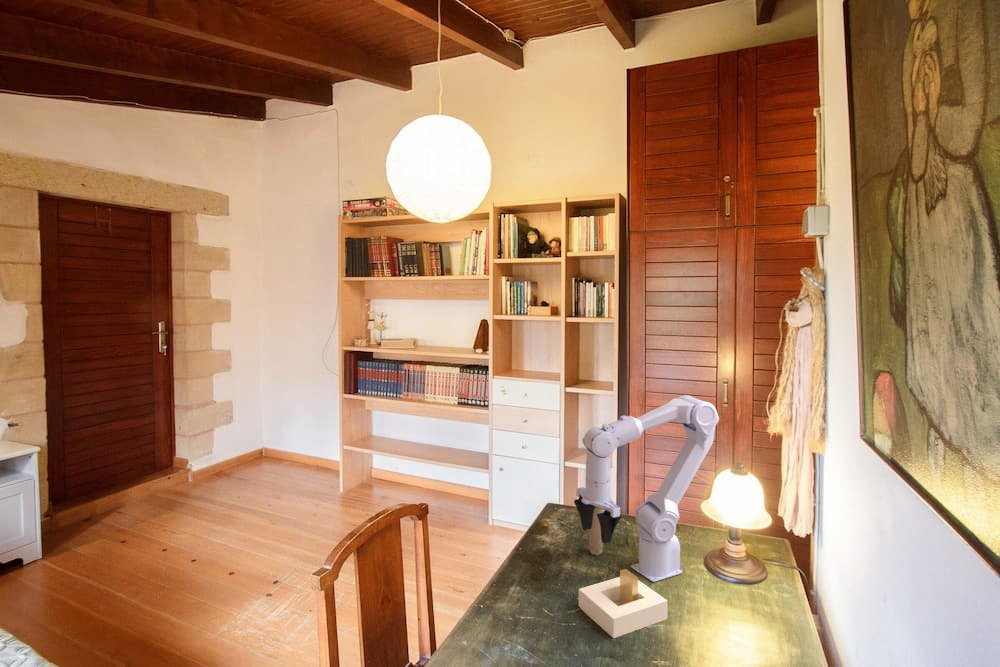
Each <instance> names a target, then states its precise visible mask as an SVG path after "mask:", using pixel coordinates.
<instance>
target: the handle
mask: <svg viewBox="0 0 1000 667" xmlns="http://www.w3.org/2000/svg"><path fill="white" fill-rule="evenodd" d="M599 513H604V510H603V509H601V508H599V507H597V506H595V508H594V513H593V521H592V527H591V529H588V544H589V552H590V554H591V555H593V556H594V555H595V556H600V555H602V554H603V551H604V549H603V548H604V543H602V540H601V527H600V522H599V519H598V517H597V514H599Z"/></svg>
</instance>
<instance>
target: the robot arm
mask: <svg viewBox="0 0 1000 667" xmlns="http://www.w3.org/2000/svg"><path fill="white" fill-rule="evenodd" d="M719 421H720V417H719V414H718V411H717V408H716V406H715V405H713V403H711V402H709V401H704V400H701V399H698V398H695V397H693V396H691V395H687V394H683V395H681V396H679V397H676V398H672V399H671V400H670V401H668V402H667V403H665V404H663V405H661V406H659V407H656V408H655V409H652V410H651V411H648V412H647V413H644V414H642V415H640V416H638V417H636V418H635V417H634V416H632V415H625V414H624V415H621V416H619V419H617V420H615V421H613V422H611V423H608V424H607V423H604V424H602V425H601V428H600V427H591V428H589V429H588V430H587V432H586V433H585V434H584V437H583V438H582V443H583V445H584V447H585V448H586V457H585V487H584V486H582V487H581V486H580V487H577V488H576V494H575V495H576V497H577V498H576V499H574V502H573V503H574V505H575V507H576V510H577V511H578V515H579V518H580V524H581V526H582V530H583V531H587V530H588V531H589V529H591V527H592V521H593V513H594V508H595V506H597V507H599V508H601V509H603V513H599V514H597V517H598V519H599V522H600V527H601V540H602V543H603V544H607V543H611V542H612V538H613V536H614V535H613V534H614V531H615V529H616V527H617V525H618V523H619V522H620V520H621V518H622V516H623V515H622V513H621V507H620V506H618V505H617V504H616V503H615V501H613V500H612V498H611V464H612V463H611V459H612V458H611V456H612V454H613V453H614V452H615V451H616V449H618V448H620V447H622V446H624V445H627V444H629V443H631V442H634V441H636V440H639V439H640V438H641V437H642V434H643V432H645V431H647V430H650V429H654V428H656V427H658V426H661V425H664V424H667V423H671V422H678V423H681V424H682V425H683V428H684V431H685V433H686V436H687V438H686V441H685V442H684V444H683V445H682V448H681V449H680V451H679V452H678V454H677V456H676V458H675V460H674V462H673V463H672V465H671V467H670V468H669V470H668V472H667V474H666V475H665V478H664V479H663V481H662V482H661V484H660V486H659V488H658V490H657V492H655V493H654V494H653V493H652V494H651V495H648V496H647V498H646V500H644V502H643V503H641V504H640V505H638V507H637V509H636V510H635V514H634V515H635V521H636V522H637V524H638V525H639V535H638V536H639V541H638V542H639V543H638V547H639V550H638V552H639V553H638V555H639V556H638V563H634V564H632V565H631V566H630V567H631V568H632V569H633V570H634V571H635V572H637V573H638V574H640V575H642V576H643V577H644V578H646V579H647V580H649V581H650V582H652V583H655V582H658V581H659V582H660V581H663V580H664V579H667V578H671V577H674V576H678V575H681V574H683V570H682V569H681V544H680V541H679V538H678V537H677V535H676V531H677V525H678V521H679V520H680V512H679V508H678V506H679V504H680V502H681V500H682V498H683V496H684V495H685V493H686V492H687V489H688V488H689V486H690V484H691V483H692V480H693V479H694V477H695V475H696V474H697V472H698V471H699V468H700V466H701V465H702V463H703V461H704V460H705V458H706V456H707V455H708V453H709V451H710V449H711V447H712V445H713V443H714V440H715V439H714V438H715V430H716V426H717V424H718V423H719Z"/></svg>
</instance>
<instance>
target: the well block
mask: <svg viewBox="0 0 1000 667" xmlns="http://www.w3.org/2000/svg"><path fill="white" fill-rule="evenodd" d="M617 602H620V576H618V577H614V578H611V579H607V580H604V581H601V582H598V583H594V584H590V585H588V586H585V587H581V588H580V587H579V588H578V607H580V608H581V609H580V608H579V609H580V610H582V612H584V614H586V615H587V616H588V617H589V618H590V619H591V620H592V621H594V622H595V623H596V625H598V626H599V627H601V629H602V630H603V631H605V633H607V634H608V635H609V636H610V637H611V638H612V639H615V638H619V637H621V636H624V635H627V634H630V633H633V632H635V630H636V631H638V630H640V629H643V628H646V627H649V626H652V625H655V624H657V623H660V622H664V621H667V620H668V613H669V612H668V610H669V609H668V605H669V604H668V602H669V601H668V600H667V599H666V598H665V597H663V596H662V595H660V594H659V593H658V592H656V591H655V590H653V589H651V587H649V586H648V585H646V584H645V583H643V582H642V581H640V580H639V579H638V600H636V601H633V602H630V603H627V604H624V605H621V606H617V605H616V604H615V603H617Z"/></svg>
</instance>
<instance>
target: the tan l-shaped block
mask: <svg viewBox="0 0 1000 667" xmlns="http://www.w3.org/2000/svg"><path fill="white" fill-rule="evenodd" d="M619 577H620V602H617V603H615V604H616V605H617V606H621V605H624V604H627V603H630V602H633V601H636V600H638V580H639V576H636V575H635V574H633V573H632V572H631V571H629V570H628V569H627V568H625V569H621V570H619Z"/></svg>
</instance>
